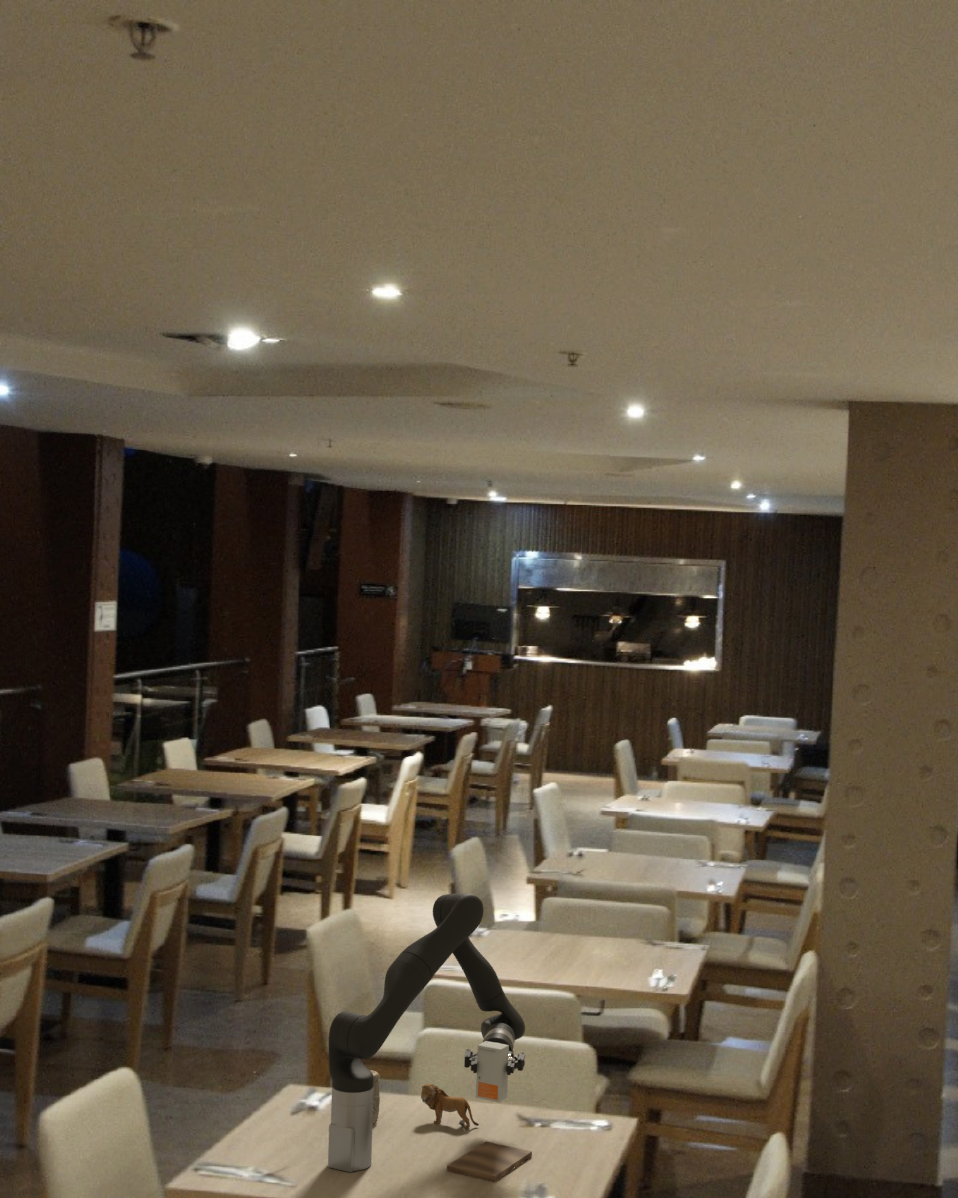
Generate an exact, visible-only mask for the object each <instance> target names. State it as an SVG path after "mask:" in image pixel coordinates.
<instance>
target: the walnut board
mask: <svg viewBox="0 0 958 1198" xmlns="http://www.w3.org/2000/svg"><path fill="white" fill-rule="evenodd" d="M532 1156H533V1151H532V1150H528V1149H523V1148H517V1147H514V1146H507V1145H503V1144H499V1143H494V1142H490V1141H484V1142H482V1143H480V1144H479V1145H477V1146H476V1147H474V1148H472V1149H471V1150H469V1151H468V1152H465V1154H463V1155H462V1156H460V1157H458V1158H457V1159H455V1160H453V1161H452V1162H450V1163H448V1164H447V1165H446V1171H447V1172H451V1173H455V1174H459V1175H464V1176H469V1177H473V1178H477V1179H481V1180H486V1181H491V1182H494V1183H495V1182H497V1181H499V1180H500V1179H501V1178H503V1177H504V1176H506V1175H507V1174H509V1173H510V1172H511V1171H510V1170H512V1169H513V1168H514V1167H516V1168H518V1167H519V1166H520V1165H522V1164H523V1163H524V1161H525V1160H526V1159H528V1160H529V1159H531V1158H532ZM526 1161H527V1160H526ZM526 1161H525V1162H526ZM522 1162H523V1163H522ZM521 1163H522V1164H521ZM519 1164H520V1165H519ZM518 1165H519V1166H518ZM514 1169H515V1168H514ZM514 1169H513V1170H514ZM513 1170H512V1171H513ZM509 1171H510V1172H509ZM508 1172H509V1173H508ZM503 1175H504V1176H503ZM502 1176H503V1177H502Z"/></svg>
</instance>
